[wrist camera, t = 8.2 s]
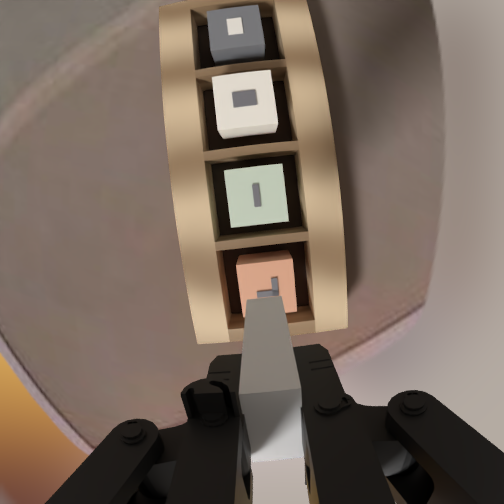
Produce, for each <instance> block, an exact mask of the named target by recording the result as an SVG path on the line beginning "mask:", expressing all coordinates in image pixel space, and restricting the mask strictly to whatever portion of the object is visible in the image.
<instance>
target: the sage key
mask: <svg viewBox="0 0 504 504" xmlns="http://www.w3.org/2000/svg"><path fill="white" fill-rule="evenodd" d="M224 175H225V183H226V191H227V199H228V207H229V215H230V223H231V228H234V227H242V226H250V225H259V224H268V223H277V222H286V221H289V219H288V209H287V200H286V192H285V183H284V175H283V166H282V164H273V165H264V166H255V167H247V168H239V169H231V170H224Z"/></svg>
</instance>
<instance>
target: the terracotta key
mask: <svg viewBox="0 0 504 504" xmlns="http://www.w3.org/2000/svg"><path fill="white" fill-rule="evenodd" d="M236 269H237V276H238V283H239V291H240V298H241V305H242V312H243V317H245V313H246V301H247V299H257V298H266V297H275V296H282V300H283V305H284V309H285V313H289V312H297V304H296V292H295V280H294V269H293V259H292V257H291V255H290V253H289V251H288V250H280V251H272V252H263V253H254V254H245V255H239V257H238V260H237V264H236Z"/></svg>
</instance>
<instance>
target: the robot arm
mask: <svg viewBox="0 0 504 504" xmlns="http://www.w3.org/2000/svg"><path fill="white" fill-rule="evenodd" d="M181 398H182V401H183V404H184V407H185V410H186V414H187V417H188V420H187V422H186V423H184V424H182V425H179V426H176V427H171V428H166V429H161V430H158V428H157V427H156V425H155V424H154V423H153V422H151V421H148V420H146V419H132V420H127V421H125V422H123V423H120V424H119V425H118V426H116V427H115V428H114V429H113V430H112V431H111V432H110V433H109V434H108V435H107V436H106V438H105V439H104V440H103V441H102V442H101V443H100V444H99V445H98V446H97V448H96V449H95V450H94V451H93V452H92V453H91V454H90V455H89V456H88V457H87V458H86V460H85V461H84V462H83V463H82V464H81V465H80V466H79V467H78V468H77V469H76V471H75V472H74V473H73V474H72V475H71V476H70V477H69V478H68V479H67V480H66V481H65V482H64V484H63V485H62V486H61V487H60V488H59V489H58V490H57V491H56V492H55V493H54V494H53V495H52V497H51V498H50V499H49V500H48V501H47V502H46V503H45V504H252V498H253V497H252V496H253V491H252V490H253V475H252V470H251V459H252V462H261V461H273V460H284V459H292V458H301V457H304V459H305V484H306V485H307V489H308V496H309V503H310V504H395V502H396V504H504V453H503V452H502V451H501V450H500V449H498V448H497V447H496V446H495V445H493V444H492V443H491V442H490V441H488V440H487V439H486V438H485V437H483V436H482V435H481V434H480V433H478V432H477V431H476V430H475V429H473V428H472V427H471V426H470V425H468V424H467V423H466V422H465V421H463V420H462V419H461V418H460V417H458V416H457V415H456V414H454V413H453V412H452V411H451V410H450V409H448V408H447V407H446V406H445V405H443V404H442V403H441V402H440V401H438V400H437V399H436V398H435V397H433V396H432V395H430V394H428V393H426V392H423V391H418V390H410V391H404V392H401V393H398V394H397V395H395V396H394V397H392V398H391V400H390V401H389V403H388V406H364V405H361V404H357V403H356V402H355V401H354V399H353V398H352V397H351V396H350V395H348V394H346V393H345V392H344V389H343V387H342V384H341V382H340V379H339V377H338V374H337V372H336V369H335V367H334V364H333V362H332V360H331V357H330V354H329V352H328V350H327V349H325V348H324V347H323V346H321V345H320V344H314V345H307V346H299V347H293V346H292V342H291V337H290V332H289V328H288V323H287V318H286V314H285V309H284V305H283V300H282V296H275V297H266V298H257V299H247V301H246V313H245V325H244V337H243V348H242V354H233V355H219V356H217V357H216V358H215V359H214V360H213V361H212V362H211V363H210V366H209V370H208V374H207V378H206V379H200V380H198V381H195V382H192V383H190V384H189V385H188V386H186V387H185V388H184V389H183V391H182V392H181Z"/></svg>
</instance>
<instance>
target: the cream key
mask: <svg viewBox="0 0 504 504" xmlns="http://www.w3.org/2000/svg"><path fill="white" fill-rule="evenodd" d="M212 83H213V93H214V102H215V111H216V120H217V128H218V132H219V133H220V135H221V136H222V138H223V139H229V138H236V137H244V136H252V135H261V134H271V133H276V129H277V126H278V118H277V111H276V104H275V97H274V91H273V84H272V77H271V71H270V70H263V71H253V72H244V73H236V74H229V75H222V76H215V77H212Z"/></svg>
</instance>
